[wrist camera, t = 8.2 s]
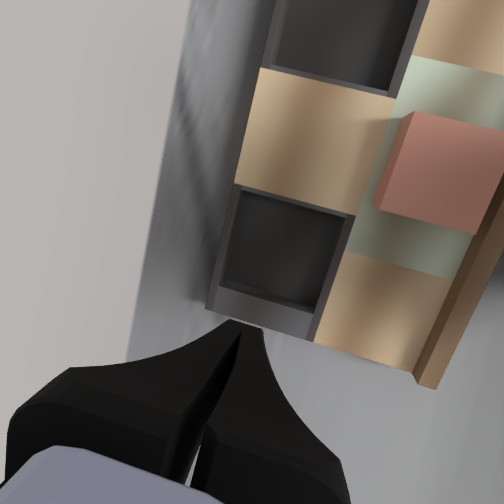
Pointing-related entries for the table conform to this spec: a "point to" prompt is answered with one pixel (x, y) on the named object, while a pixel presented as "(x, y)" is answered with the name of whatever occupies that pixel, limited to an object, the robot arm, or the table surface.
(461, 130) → the tile block
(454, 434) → the table surface
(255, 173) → the trap board
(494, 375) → the table surface
